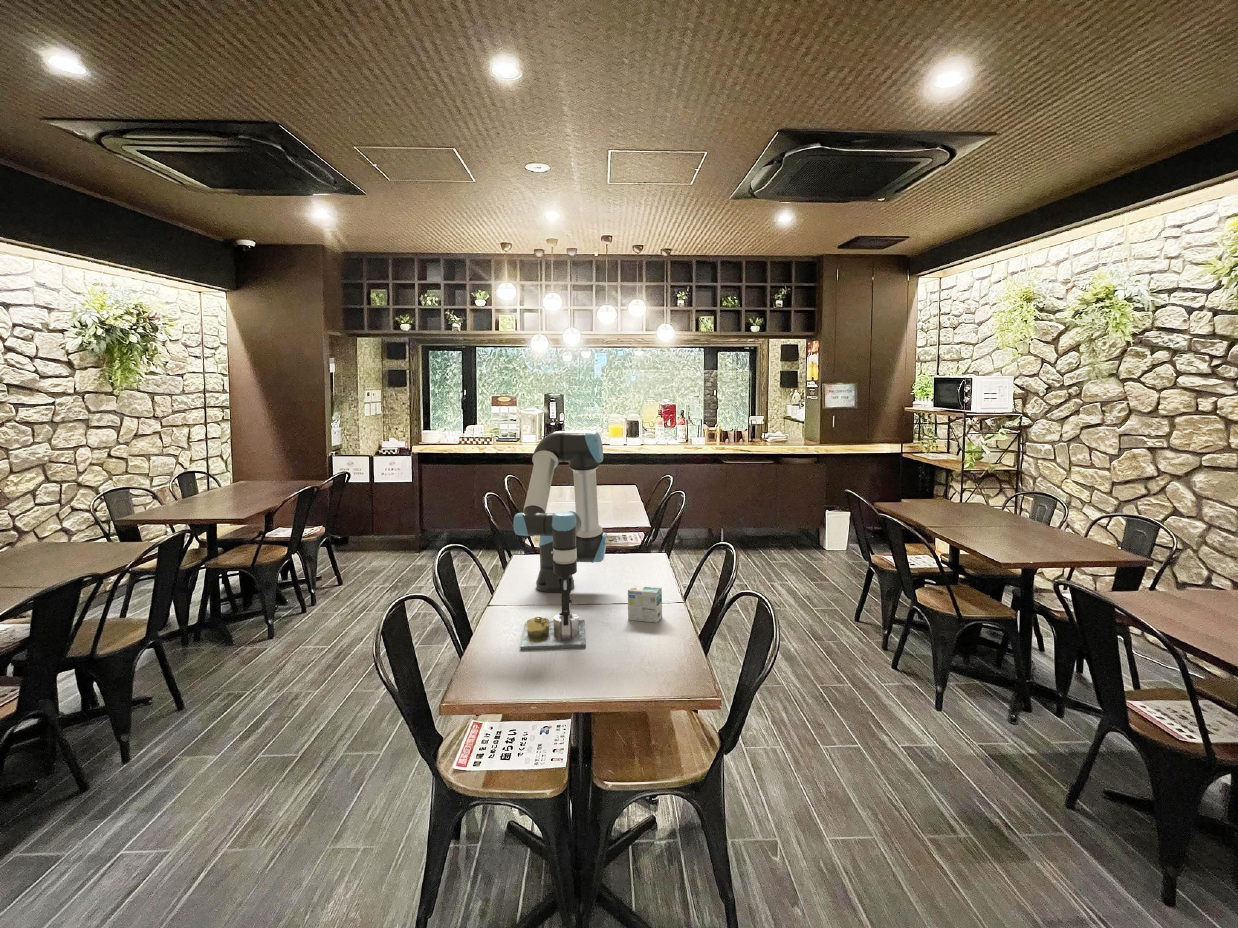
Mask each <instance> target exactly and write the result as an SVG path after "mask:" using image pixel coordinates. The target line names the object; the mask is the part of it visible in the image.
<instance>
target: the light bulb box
mask: <svg viewBox="0 0 1238 928" xmlns="http://www.w3.org/2000/svg"><path fill="white" fill-rule="evenodd" d="M662 590H663V588H662V587H660V586H649V585H648V586H646V585H636V584H633V585H632V586H631V587H630V588H628V590H627V620H628V621H639V622H647V623H654V624H655V623H659V621H660V620H661V619H662V618H663V591H662Z"/></svg>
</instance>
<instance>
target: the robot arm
mask: <svg viewBox="0 0 1238 928" xmlns="http://www.w3.org/2000/svg"><path fill="white" fill-rule="evenodd" d="M532 454H533V455H532V459H531V461H532V464H533V467H532V472H531V476H530V480H529V484H528V489H527V492H526V498H525V502H524V505H523V511H522V512H517V513H515V515H514V517H513V532H514V533H515V535H517V536H525V537H530V536H531V537H533V536H534V537H539V544H538V546H539V563H540V564H539V572H538V576H537V579H536V582H535V584H536V585H535V586H536V587H535V588H536V590H537V591H539V592H543V593H560V598H561V613H560V612H559V613H558V614H559V615H561V619H562V635H570V614H571V604H572V603H573V599H571V595H570V594H571V593H572V589H574V588H575V579H574V576H573V575H575V574H576V573H577V572H578V565H577V564H578V563H593V564H594V563H601V562H603V561H604V559H605V555H606V550H607V542H608V541H607V539H608V533H607V532H604V531H603V527H602V526H601V525H600V524H599V507H598V505H599V504H598V491H597V490H598V489H597V488H598V487H597V486H598V485H597V472H596V470H597V469H598V468H599V467H600V463H602V462H603V460H604V447H603V441H602V438H601V435H600V433H599V432H598V431H595V430H558V431H553V432H551V433H549V434H548V435H546V436H545V437H544V438H542V439H541V441H539V443H538V444H537V445H536V447H535V448H534V451H533V453H532ZM559 463H568V467H569V469H570V470H571V471H573V473H572V475H573V487H574V488H573V489H574V492H573V493H574V504H575V507H574V508H575V511H573V510H572V511H559V512H555V513H554V512H553V513H550V512H549V513H548V512H547V508H548V501H549V497H550V492H551V486H552V483H553V478H554V472H555V468H557V467H558V465H559Z"/></svg>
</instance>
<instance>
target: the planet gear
mask: <svg viewBox="0 0 1238 928" xmlns="http://www.w3.org/2000/svg"><path fill="white" fill-rule="evenodd" d="M579 618H580V617H579V615H578V614H576V613H573V612H570V635H562V619H561V615H559V613H558V614H555V615H553V621H554V634H555V635H557V636H562V637H569V636H574V635H576V634H578V633H579V620H580V619H579Z"/></svg>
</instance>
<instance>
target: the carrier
mask: <svg viewBox="0 0 1238 928" xmlns="http://www.w3.org/2000/svg"><path fill="white" fill-rule="evenodd" d="M585 621H586V620H585V619H579V633H578V634H576V635H574V636H569V637H562V636H557V635H555V634H554V620H550V619H548V618H547V617H541V616H535V617H531V618H530V619H528V620H527V621H525V622H524V625H523V632H522V637H521V639H520V640H521V642H520V645H519V650H520V651H534V650H535V651H536V650H542V651H543V650H563V649H564V650H565V649H568V650H569V649H586V647H587V646H586V627H585V626H586V624H585Z"/></svg>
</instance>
